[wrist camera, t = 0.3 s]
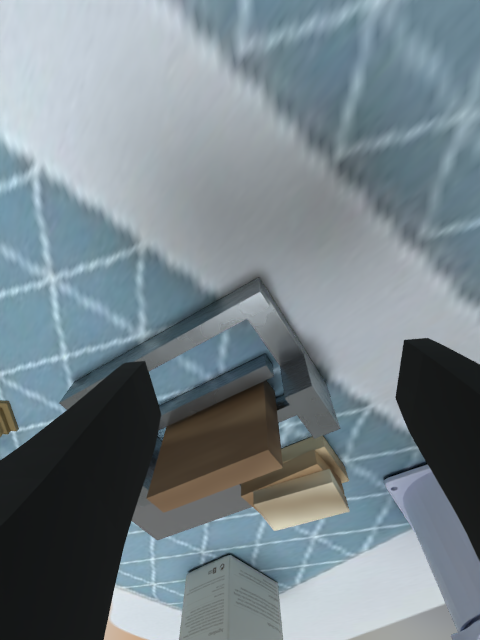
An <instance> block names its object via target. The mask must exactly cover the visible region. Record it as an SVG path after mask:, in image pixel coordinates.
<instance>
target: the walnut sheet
mask: <svg viewBox="0 0 480 640" xmlns="http://www.w3.org/2000/svg"><path fill="white" fill-rule="evenodd" d="M281 468H283V462H282V453H281V444H280V435H279V425H278V416H277V407H276V397H275V391H274V390H273V388H272V387H271V386H270V384H269V383H268V382H267V380H265V381H263V382H261V383H259V384H257V385H255V386H252V387H250V388H248V389H246V390H244V391H242V392H240V393H238V394H235V395H233V396H231V397H229V398H227V399H225V400H223V401H220V402H218V403H216V404H214V405H212V406H210V407H208V408H205V409H203V410H201V411H199V412H197V413H195V414H193V415H190V416H188V417H186V418H184V419H182V420H180V421H178V422H175V423H173V424H171V425H169V426H167V427H166V431H165V434H164V438H163V441H162V445H161V448H160V452H159V455H158V459H157V462H156V466H155V470H154V473H153V477H152V480H151V484H150V487H149V491H148V494H147V498H146V499H148V500H149V501H150V502H151V503H152V504H154V505H155V506H156V507H157V508H158V509H160V510H161V511H162V512H163V513H165V512H167V511H170V510H172V509H175V508H178V507H180V506H183V505H186V504H188V503H191V502H194V501H196V500H199V499H202V498H204V497H207V496H210V495H212V494H215V493H217V492H220V491H223V490H225V489H228V488H231V487H233V486H236V485H239V484H241V483H244V482H247V481H249V480H252V479H255V478H257V477H260V476H263V475H265V474H268V473H270V472H273V471H276V470H278V469H281Z"/></svg>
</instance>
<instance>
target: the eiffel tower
mask: <svg viewBox="0 0 480 640" xmlns="http://www.w3.org/2000/svg"><path fill="white" fill-rule="evenodd" d="M18 429H19V428H18V425H17V422H16V419H15V417H14V414H13V411H12V408H11V405H10V403H9V401H0V437H1V436H2V434H9V432H10V431H17V430H18Z"/></svg>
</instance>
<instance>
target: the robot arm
mask: <svg viewBox="0 0 480 640" xmlns="http://www.w3.org/2000/svg"><path fill="white" fill-rule="evenodd" d="M396 400H397V403H398V405H399V408H400V411H401V413H402V416H403V418H404V420H405V423H406V425H407V427H408V430H409V432H410V434H411V436H412V437H413V439H414V441H415V443H416V445H417V446H418V448H419V450H420V452H421V453H422V455H423V457H424V459H425V460H426V462H427V465H424V466H421V467H418V468H415V469H412V470H409V471H406V472H403V473H400V474H397V475H394V476H391V477H389V478H386V479H385V480H384V484H385V486H386V488H387V490H388V491H389V493H390V494H391V496H392V497H393V499H394V501H395V502H396V504H397V505H398V507H399V508H400V510H401V511H402V513H403V514H404V516H405V518H406V519H407V521H408V522H409V524H410V525H411V527H412V528H413V530H414V532H415V533H416V535H417V538H418V540H419V542H420V545H421V547H422V549H423V552H424V554H425V556H426V559H427V561H428V563H429V566H430V568H431V570H432V573H433V575H434V577H435V580H436V582H437V584H438V587H439V589H440V591H441V594H442V596H443V598H444V601H445V603H446V605H447V608H448V610H449V612H450V615H451V617H452V619H453V622H454V624H455V626H456V629H457V631H458V633H454V634H452V635H451V637H452V639H453V640H480V364H478V363H476V362H474V361H472V360H470V359H468V358H466V357H464V356H463V355H461V354H459V353H457V352H455V351H453V350H451V349H449V348H447V347H445V346H443V345H441V344H439V343H437V342H435V341H433V340H431V339H428V338H423V339H411V340H404V344H403V351H402V358H401V365H400V371H399V378H398V385H397V392H396ZM160 419H161V411H160V408H159V405H158V401H157V398H156V395H155V392H154V388H153V385H152V382H151V378H150V375H149V372H148V369H147V365H146V362H145V361H138V362H126V363H123V364H122V365H121V366H119V367H118V368H117V369H115V370H114V371H113V372H112V373H111V374H109V375H108V376H107V377H106V378H105V379H103V380H102V381H101V382H100V383H99V384H98V385H96V386H95V387H94V388H93V389H92V390H90V391H89V392H88V393H87V394H86V395H85V396H83V397H82V398H81V399H80V400H79V401H77V402H76V403H75V404H74V405H73V406H71V407H70V408H69V409H68V410H67V411H65V412H64V413H63V414H62V415H60V416H59V417H58V418H57V419H55V420H54V421H53V422H51V423H50V424H49V425H48V426H46V427H45V428H44V429H42V430H41V431H40V432H39V433H37V434H36V435H35V436H34V437H32V438H31V439H30V440H28V441H27V442H26V443H24V444H23V445H22V446H20V447H19V448H18V449H16V450H15V451H13V452H12V453H11V454H9V455H8V456H6V457H5V458H3V459H2V460H0V640H104V635H105V630H106V625H107V620H108V616H109V611H110V606H111V601H112V596H113V591H114V587H115V583H116V578H117V574H118V570H119V565H120V561H121V556H122V552H123V548H124V544H125V541H126V537H127V534H128V530H129V527H130V524H131V520H132V517H133V514H134V511H135V508H136V505H137V502H138V499H139V496H140V493H141V490H142V487H143V484H144V481H145V478H146V475H147V472H148V468H149V465H150V462H151V459H152V456H153V453H154V449H155V446H156V441H157V436H158V431H159V425H160Z"/></svg>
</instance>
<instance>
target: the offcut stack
mask: <svg viewBox="0 0 480 640" xmlns="http://www.w3.org/2000/svg"><path fill="white" fill-rule="evenodd" d="M281 453H282V462H283V468H281V469H278V470H276V471H273V472H270V473H268V474H265V475H263V476H260V477H257V478H255V479H252V480H249V481H247V482H244V483H241V497H242V498H243V499H244V500H245V501H247V502H248V503H249V504H250V505H251V506H252V507H253V508H255V509H256V510H257V511H258V512H259V513H260V514H261V515H262V516H263V517H264V519H265V520H266V521H267V522H268V524H269V525H270V526H271V527H272V529H273V530H274V531H277V530H281V529H284V528H288V527H292V526H296V525H300V524H304V523H307V522H311V521H315V520H319V519H323V518H327V517H330V516H334V515H338V514H342V513H346V512H350V511H349V507H348V504H347V500H346V497H345V495H344V490H343V486H342V483H344V482H347V481H349V479H348V476H347V472H346V469H345V467H344V465H343V464H342V462H341V461H340V459H339V458H338V457H337V455H336V454H335V452H334V451H333V450H332V448H331V447H330V445H329V444H328V442H327V441H326V440H325V438H324V437H323V436H320V437H318V438H315V439H314V438H313V437H310V438H308V439H305V440H303V441H300V442H298V443H295V444H293V445H290V446H288V447H285V448H283V449H281Z"/></svg>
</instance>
